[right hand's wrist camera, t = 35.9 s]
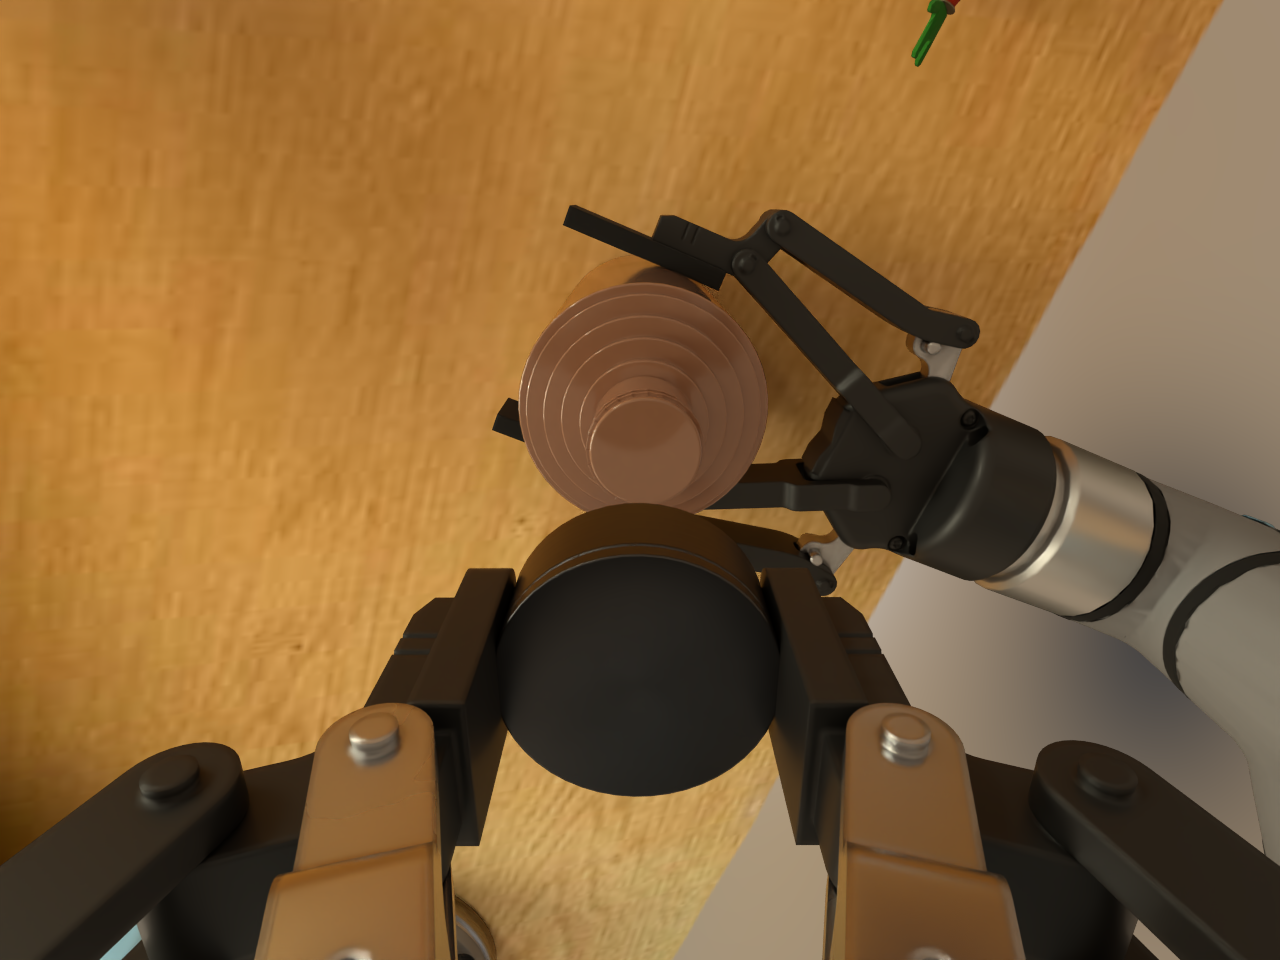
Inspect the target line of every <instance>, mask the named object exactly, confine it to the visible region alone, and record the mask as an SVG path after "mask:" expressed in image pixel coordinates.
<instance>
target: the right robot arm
mask: <svg viewBox="0 0 1280 960" xmlns="http://www.w3.org/2000/svg"><path fill="white" fill-rule="evenodd" d="M760 585H761V589H762V592H763V595H764V598H765V602H766V605H767V608H768V611H769V615H770V618H771V621H772V624H773V628H774V631H775V634H776V637H777V641H778V644H779V648H780V664H779V676H778V688H777V700H776V711H775V716H774V719H773V721H772V723H771V724H770V726H769V728H768V729H769V734H770V738H771V742H772V746H773V750H774V755H775V759H776V763H777V767H778V771H779V775H780V779H781V784H782V788H783V792H784V796H785V801H786V805H787V809H788V813H789V817H790V821H791V826H792V830H793V834H794V838H795V842H796V845H820V849H821V852H822V856H823V860H824V863H825V867H826V870H827V873H828V877H827V885H826V899H825V918H824V937H823V957H822V960H1159V959H1158V958H1157V957H1156V956H1155V955H1154V954H1153V953H1151V952H1150V951H1149V950H1148V949H1147V948H1146V947H1145V946H1144V945H1143V944H1142V943H1141V942H1140V941H1139V940H1138V939H1137V938H1136V937H1135V936H1134V935H1133V932H1134V929H1135V926H1136V924H1137V921H1138V919H1139V920H1140V921H1141V922H1142V923H1143V924H1144V925H1145V926H1146V927H1147V928H1148V929H1149V930H1150V931H1151V932H1152V933H1153V934H1154V935H1155V936H1156V937H1157V938H1158V939H1159V940H1160V941H1161V942H1162V943H1163V944H1165V945H1166V946H1167V947H1168V948H1169V949H1170V950H1171V951H1172V952H1173V953H1174V954H1175V955H1176V956H1177V957H1178V958H1179V959H1180V960H1280V866H1279V865H1278V864H1276V863H1275V862H1274V861H1272V860H1271V859H1270V858H1268V857H1267V856H1266V855H1264V854H1263V853H1262V852H1260V851H1259V850H1258V849H1256V848H1255V847H1254V846H1252V845H1251V844H1250V843H1248V842H1247V841H1246V840H1244V839H1243V838H1242V837H1240V836H1239V835H1238V834H1236V833H1235V832H1234V831H1232V830H1231V829H1230V828H1228V827H1227V826H1226V825H1224V824H1223V823H1222V822H1220V821H1219V820H1218V819H1216V818H1215V817H1213V816H1212V815H1211V814H1210V813H1208V812H1207V811H1206V810H1204V809H1203V808H1202V807H1200V806H1199V805H1198V804H1196V803H1195V802H1194V801H1192V800H1191V799H1190V798H1188V797H1187V796H1186V795H1184V794H1183V793H1182V792H1180V791H1179V790H1178V789H1176V788H1175V787H1174V786H1172V785H1171V784H1170V783H1168V782H1167V781H1166V780H1164V779H1163V778H1162V777H1160V776H1159V775H1158V774H1156V773H1155V772H1154V771H1152V770H1151V769H1150V768H1148V767H1147V766H1145V765H1144V764H1142V763H1141V762H1139V761H1137V760H1136V759H1134V758H1132V757H1130V756H1128V755H1126V754H1124V753H1122V752H1120V751H1118V750H1115V749H1112V748H1109V747H1107V746H1103V745H1100V744H1096V743H1091V742H1086V741H1076V740H1068V741H1059V742H1055V743H1052V744H1049V745H1047V746H1046V747H1044V748H1043V749H1042V750H1041V751H1040V753H1039V755H1038V758H1037V761H1036V765H1035V769H1034V770H1029V769H1025V768H1020V767H1016V766H1011V765H1007V764H1003V763H998V762H994V761H989V760H985V759H981V758H978V757H974V756H971V755H969V754H966V753H965V750H964V746H963V743H962V742H961V740H960V738H959V736H958V735H957V734H956V733H955V731H954V730H953V729H952V728H951V727H950V726H949V725H947V724H946V723H945V722H943V721H942V720H941V719H939V718H938V717H936V716H934V715H932V714H930V713H928V712H926V711H924V710H921V709H918V708H915V707H912V706H911V705H910V703H909V701H908V699H907V698H906V696H905V694H904V692H903V690H902V688H901V686H900V684H899V682H898V681H897V679H896V677H895V675H894V673H893V671H892V669H891V667H890V665H889V664H888V662H887V660H886V658H885V656H884V654H881V649H880V647H879V645H878V643H877V641H876V639H875V638H873V633H872V631H871V630H870V628H869V626H868V624H867V622H866V620H865V618H864V616H863V614H862V613H860V612H859V611H858V610H856V609H855V608H854V607H853V606H851V605H850V604H849V603H848V602H846V601H845V600H844V599H842V598H841V597H821V595H820V593H819V591H818V589H817V586H816V584H815V582H814V580H813V578H812V575H811V573H810V571H809V569H808V568H763V570H762V573H761V579H760ZM515 586H516V576H515V572H514V570H513V569H512V568H470V569H468V570H467V572H466V574H465V576H464V578H463V580H462V582H461V585H460V587H459V589H458V591H457V593H456V596H455V598H434V599H433V600H432V601H430V602H429V603H428V604H427V605H425V606H424V607H423V608H421V609H420V610H419V611H418V612H416V613H415V614H414V615H413V617H412V618H411V620H410V622H409V624H408V626H407V628H406V630H405V631H404V633H403V638H401V639H400V641H399V643H398V644H397V646H396V648H395V650H394V655H392V656H391V657H390V659H389V661H388V663H387V665H386V667H385V669H384V671H383V672H382V674H381V676H380V678H379V680H378V682H377V684H376V685H375V687H374V689H373V691H372V693H371V695H370V697H369V698H368V700H367V702H366V704H365V706H364V708H362V709H359V710H356V711H354V712H352V713H350V714H348V715H346V716H344V717H342V718H341V719H339V720H338V721H336V722H335V723H334V724H333V725H331V726H330V727H329V728H328V729H327V730H326V731H325V733H324V734H323V735H322V736H321V738H320V740H319V741H318V743H317V746H316V750H315V752H313V753H311V754H308V755H306V756H303V757H300V758H297V759H293V760H289V761H285V762H281V763H276V764H272V765H267V766H263V767H258V768H254V769H250V770H245V771H243V769H242V765H241V761H240V758H239V756H238V754H237V753H236V752H235V751H234V750H233V749H231V748H230V747H228V746H225V745H223V744H218V743H207V742H203V743H192V744H187V745H182V746H178V747H174V748H171V749H168V750H165V751H163V752H160V753H158V754H156V755H153V756H151V757H149V758H147V759H145V760H144V761H142V762H140V763H138V764H137V765H135V766H134V767H132V768H131V769H129V770H128V771H126V772H125V773H124V774H122V775H121V776H120V777H118V778H117V779H116V780H114V781H113V782H112V783H110V784H109V785H108V786H106V787H105V788H104V789H102V790H101V791H100V792H98V793H97V794H96V795H94V796H93V797H92V798H90V799H89V800H88V801H86V802H85V803H84V804H82V805H81V806H80V807H78V808H77V809H76V810H74V811H73V812H72V813H70V814H69V815H68V816H66V817H65V818H64V819H62V820H61V821H60V822H58V823H57V824H56V825H54V826H53V827H52V828H50V829H49V830H48V831H46V832H45V833H44V834H42V835H41V836H40V837H38V838H37V839H36V840H34V841H33V842H32V843H30V844H29V845H28V846H26V847H25V848H24V849H22V850H21V851H20V852H18V853H17V854H16V855H14V856H13V857H12V858H10V859H9V860H8V861H6V862H5V863H4V864H2V865H1V866H0V960H100V959H101V958H102V957H103V956H104V955H105V954H106V953H107V952H108V951H109V950H110V949H111V948H112V947H113V946H114V945H115V944H116V943H118V942H119V941H120V940H121V939H122V938H123V937H124V936H125V935H126V934H127V933H128V932H129V931H130V930H131V929H132V928H133V927H134V926H135V925H136V924H137V927H138V930H139V933H140V936H141V939H142V940H141V941H140V942H139V943H138V944H137V945H136V946H135V947H134V948H133V949H132V950H130V951H129V952H128V953H127V954H126V955H125V956H124V957H123V958H122V959H121V960H458V956H457V937H456V918H455V899H454V885H453V877H452V869H451V860H452V856H453V853H454V849H455V846H479V844H480V840H481V836H482V832H483V828H484V824H485V820H486V816H487V812H488V808H489V804H490V800H491V796H492V792H493V787H494V783H495V779H496V775H497V771H498V767H499V763H500V759H501V755H502V751H503V747H504V743H505V739H506V735H507V731H508V729H507V727H506V726H505V724H504V721H503V719H502V717H501V711H500V699H499V688H498V676H497V664H496V645H497V642H498V639H499V636H500V632H501V629H502V626H503V623H504V620H505V617H506V614H507V611H508V607H509V604H510V601H511V598H512V595H513V592H514V589H515Z"/></svg>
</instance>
